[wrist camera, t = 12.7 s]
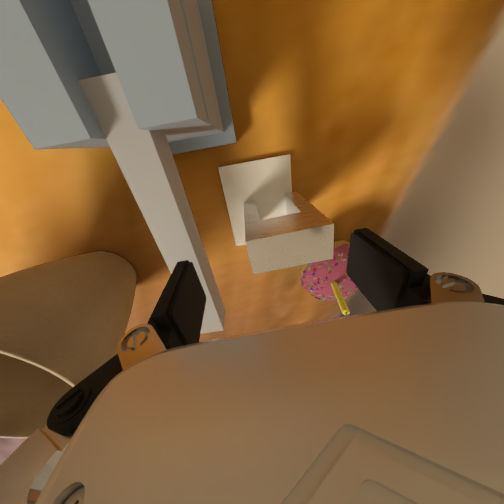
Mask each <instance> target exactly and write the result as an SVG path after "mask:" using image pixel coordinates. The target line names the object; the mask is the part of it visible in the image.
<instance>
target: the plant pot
mask: <svg viewBox="0 0 504 504" xmlns="http://www.w3.org/2000/svg"><path fill="white" fill-rule="evenodd" d="M136 280H137V275H136V272H135V270H134V268H133V267H132V265H131V264H130V263H129V262H128V261H126V260H125V259H124V258H122V257H121V256H119V255H116V254H114V253H110V252H105V251H96V252H90V253H85V254H80V255H76V256H71V257H67V258H63V259H59V260H56V261H52V262H48V263H45V264H41V265H38V266H34V267H31V268H28V269H24V270H21V271H18V272H15V273H12V274H9V275H6V276H3V277H0V438H28V437H29V436H30V435H31V434H32V433H33V432H34V431H35V430H36V429H37V428H38V429H41V430H42V429H43V428H44V427H45V426H46V424H47V418H48V416H49V414H50V411H51V410H52V408H53V407H54V405H55V404H56V403H57V402H58V400H59V399H60V398H61V397H62V396H63V395H64V394H65V393H67V392H68V391H69V390H70V389H71V388H73V387H74V386H75V385H77V384H78V383H79V382H81V381H82V380H83V379H85V378H86V377H87V376H89V375H90V374H91V373H93V372H94V371H95V370H96V369H98V368H99V367H100V366H102V365H103V364H104V363H106V362H107V361H108V360H110V359H111V358H112V357H114V356H115V355H116V354H118V353H117V345H118V342H119V341H120V339H121V338H122V337H123V336H124V334H125V331H126V328H127V324H128V321H129V317H130V314H131V309H132V305H133V300H134V295H135V289H136Z"/></svg>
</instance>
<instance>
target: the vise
mask: <svg viewBox="0 0 504 504" xmlns="http://www.w3.org/2000/svg"><path fill="white" fill-rule="evenodd" d="M0 98H1V100H2V101H3V103H4V104H5V106H6V107H7V109H8V110H9V112H10V113H11V115H12V116H13V118H14V119H15V121H16V122H17V124H18V125H19V127H20V128H21V130H22V131H23V133H24V134H25V136H26V137H27V139H28V140H29V142H30V143H31V145H32V146H33V148H34V149H63V148H105V147H110V148H111V150H112V152H113V154H114V156H115V158H116V160H117V162H118V164H119V167H120V169H121V171H122V173H123V175H124V177H125V179H126V181H127V183H128V185H129V187H130V189H131V192H132V194H133V196H134V198H135V200H136V202H137V204H138V206H139V208H140V210H141V212H142V214H143V216H144V219H145V221H146V223H147V225H148V227H149V229H150V231H151V233H152V235H153V237H154V239H155V241H156V243H157V246H158V248H159V250H160V252H161V254H162V256H163V258H164V260H165V262H166V264H167V266H168V268H169V271H170V273H171V274H172V272H173V270H174V268H175V266H176V264H177V262H179V261H185V260H188V261H189V262H192V263H193V265H194V267H195V270H196V272H197V275H198V277H199V280H200V282H201V285H202V287H203V290H204V292H205V295H206V305H205V310H204V316H203V321H202V327H201V332H200V334H202V333H208V332H215V331H222V330H224V320H225V309H224V306H223V303H222V300H221V297H220V294H219V291H218V288H217V285H216V282H215V279H214V276H213V273H212V270H211V267H210V265H209V262H208V259H207V256H206V253H205V250H204V247H203V244H202V241H201V238H200V235H199V232H198V229H197V226H196V223H195V220H194V217H193V214H192V211H191V208H190V205H189V202H188V199H187V196H186V193H185V190H184V188H183V185H182V182H181V179H180V176H179V173H178V170H177V167H176V164H175V161H174V158H173V154H179V153H184V152H189V151H195V150H200V149H205V148H211V147H216V146H221V145H227V144H232V143H237V141H236V135H235V130H234V124H233V118H232V112H231V107H230V101H229V95H228V90H227V84H226V78H225V72H224V67H223V61H222V55H221V50H220V44H219V38H218V33H217V27H216V21H215V15H214V10H213V4H212V0H0Z"/></svg>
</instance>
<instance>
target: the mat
mask: <svg viewBox="0 0 504 504" xmlns="http://www.w3.org/2000/svg"><path fill="white" fill-rule="evenodd" d="M218 170H219V174H220V178H221V183H222V187H223V191H224V196H225V200H226V204H227V208H228V213H229V217H230V221H231V226H232V230H233V234H234V238H235V243H236V246H240V245H246V242H245V221H244V202H246V201H251V200H255V202H256V206H257V210H258V214H259V218H260V220H264V219H269V218H274V217H279V216H284V215H287V212H286V202H285V193H288V192H292V180H291V160H290V154H287V155H281V156H276V157H270V158H265V159H259V160H254V161H249V162H243V163H238V164H232V165H227V166H221V167H218Z"/></svg>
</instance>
